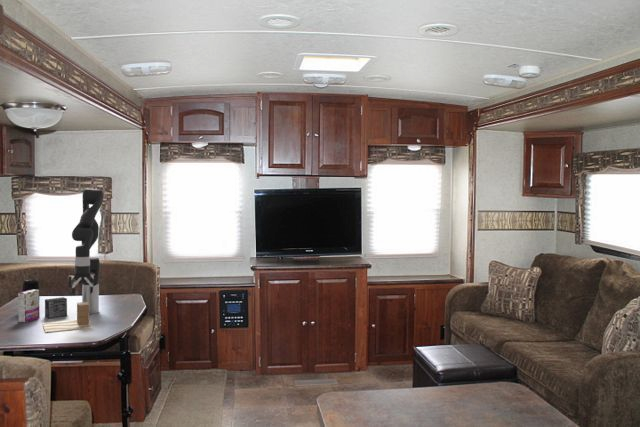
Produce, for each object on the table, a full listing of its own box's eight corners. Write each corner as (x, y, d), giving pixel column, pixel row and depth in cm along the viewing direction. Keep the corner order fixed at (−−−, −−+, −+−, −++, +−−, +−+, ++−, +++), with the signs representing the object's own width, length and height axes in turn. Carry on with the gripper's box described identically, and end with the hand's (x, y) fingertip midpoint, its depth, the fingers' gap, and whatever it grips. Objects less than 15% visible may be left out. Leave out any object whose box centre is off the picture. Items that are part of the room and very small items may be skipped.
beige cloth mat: (42, 324, 292) (42, 323, 292) (86, 320, 303) (86, 319, 303) (45, 332, 274) (45, 331, 274) (91, 328, 286) (91, 327, 286)
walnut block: (77, 322, 295) (77, 302, 295) (86, 321, 298) (86, 301, 297) (78, 325, 288) (78, 305, 288) (88, 324, 291) (88, 304, 290)
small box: (63, 314, 316) (63, 296, 316) (67, 316, 312) (67, 298, 311) (44, 316, 309) (44, 298, 309) (48, 318, 304) (48, 300, 304)
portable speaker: (35, 313, 317) (35, 280, 317) (19, 313, 317) (19, 280, 316) (42, 309, 326) (42, 278, 325) (26, 309, 325) (26, 278, 324)
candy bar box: (32, 317, 307) (32, 289, 306) (39, 318, 306) (39, 289, 305) (17, 322, 296) (17, 292, 295) (25, 322, 295) (25, 293, 294)
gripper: (95, 263, 298) (95, 291, 299) (67, 264, 291) (67, 293, 292) (97, 265, 292) (97, 294, 293) (68, 266, 284) (68, 296, 285)
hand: (82, 293), depth 292 cm, fingers open, 8 cm apart
